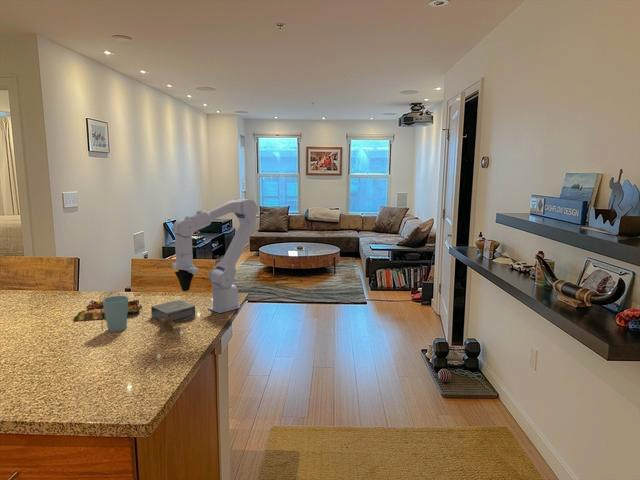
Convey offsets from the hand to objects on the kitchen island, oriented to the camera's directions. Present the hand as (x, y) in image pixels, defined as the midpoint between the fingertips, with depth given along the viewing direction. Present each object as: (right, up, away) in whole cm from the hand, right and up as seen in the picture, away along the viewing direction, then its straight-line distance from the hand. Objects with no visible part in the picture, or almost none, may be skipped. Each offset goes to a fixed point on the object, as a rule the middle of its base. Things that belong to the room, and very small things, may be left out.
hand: (185, 290), depth 146 cm
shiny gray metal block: (-5, -10, +1) cm, 11 cm away
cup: (-19, -12, -11) cm, 25 cm away
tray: (-4, -9, 0) cm, 10 cm away
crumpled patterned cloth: (-30, -10, +6) cm, 32 cm away
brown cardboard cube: (-2, -12, -12) cm, 17 cm away
